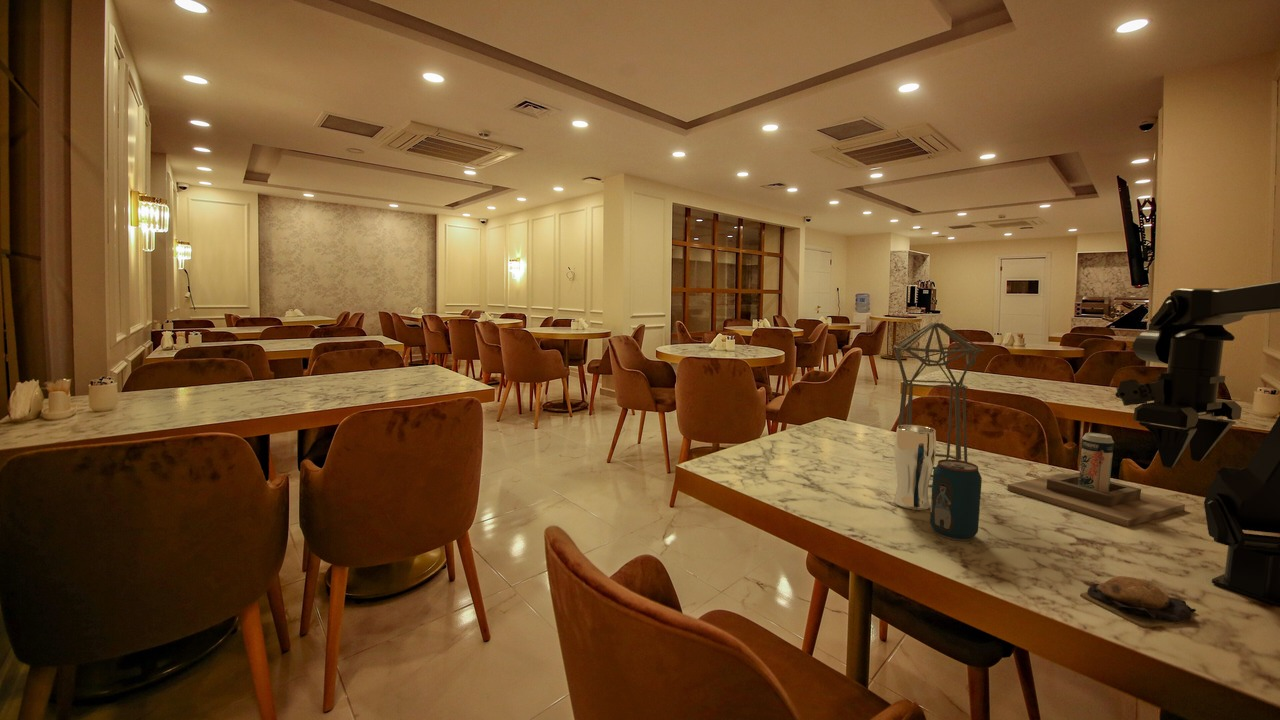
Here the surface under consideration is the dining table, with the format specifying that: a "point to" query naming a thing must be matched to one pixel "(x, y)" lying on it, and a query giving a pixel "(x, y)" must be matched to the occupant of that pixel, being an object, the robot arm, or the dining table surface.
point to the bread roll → (1138, 602)
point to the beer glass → (914, 465)
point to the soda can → (955, 499)
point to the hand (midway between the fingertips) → (1182, 463)
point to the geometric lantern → (967, 349)
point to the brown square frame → (1098, 499)
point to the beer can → (1096, 461)
